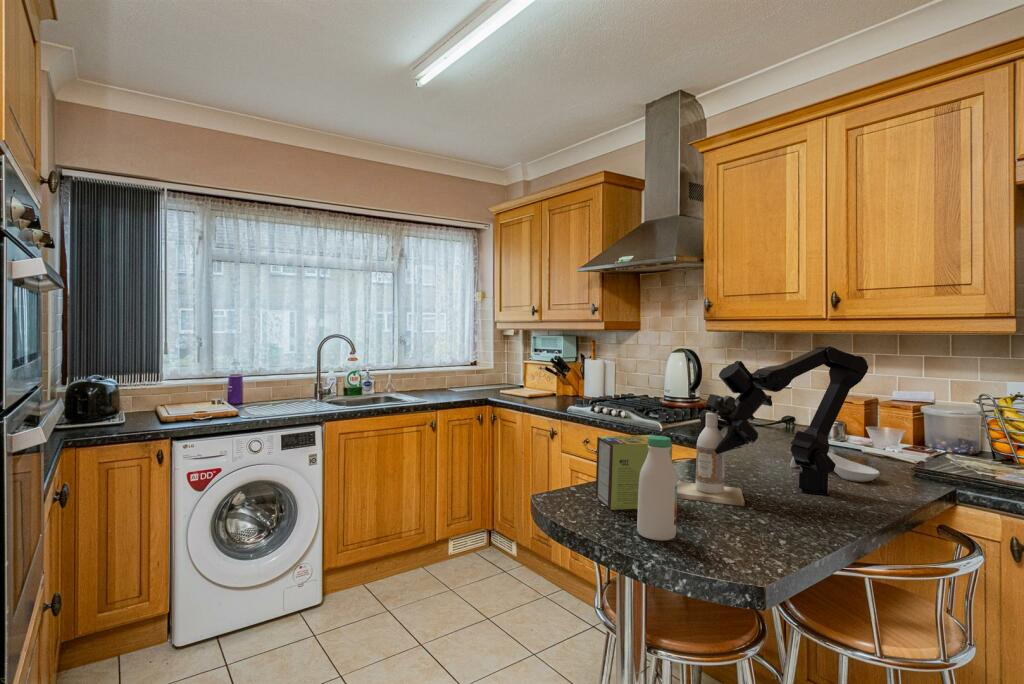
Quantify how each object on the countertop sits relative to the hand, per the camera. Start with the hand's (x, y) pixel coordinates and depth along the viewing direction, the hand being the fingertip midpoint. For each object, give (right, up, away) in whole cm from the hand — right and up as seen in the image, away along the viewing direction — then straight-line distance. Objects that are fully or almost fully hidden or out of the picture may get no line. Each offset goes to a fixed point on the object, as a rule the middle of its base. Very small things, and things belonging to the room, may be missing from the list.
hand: (705, 448), depth 140 cm
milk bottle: (-20, -12, -28) cm, 37 cm away
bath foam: (+1, -11, +1) cm, 11 cm away
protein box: (-20, -12, -7) cm, 25 cm away
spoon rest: (+48, -14, +26) cm, 56 cm away
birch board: (+1, -12, 0) cm, 12 cm away
